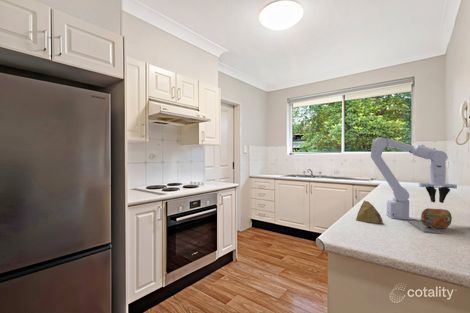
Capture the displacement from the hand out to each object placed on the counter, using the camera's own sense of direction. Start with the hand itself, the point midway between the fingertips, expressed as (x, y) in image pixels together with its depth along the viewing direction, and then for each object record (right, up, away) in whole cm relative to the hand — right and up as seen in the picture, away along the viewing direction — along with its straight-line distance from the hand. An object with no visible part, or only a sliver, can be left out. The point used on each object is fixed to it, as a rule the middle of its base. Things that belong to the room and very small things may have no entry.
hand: (437, 202), depth 112 cm
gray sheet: (-14, -10, -9) cm, 19 cm away
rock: (-34, -10, 0) cm, 35 cm away
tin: (-10, -10, -10) cm, 17 cm away
